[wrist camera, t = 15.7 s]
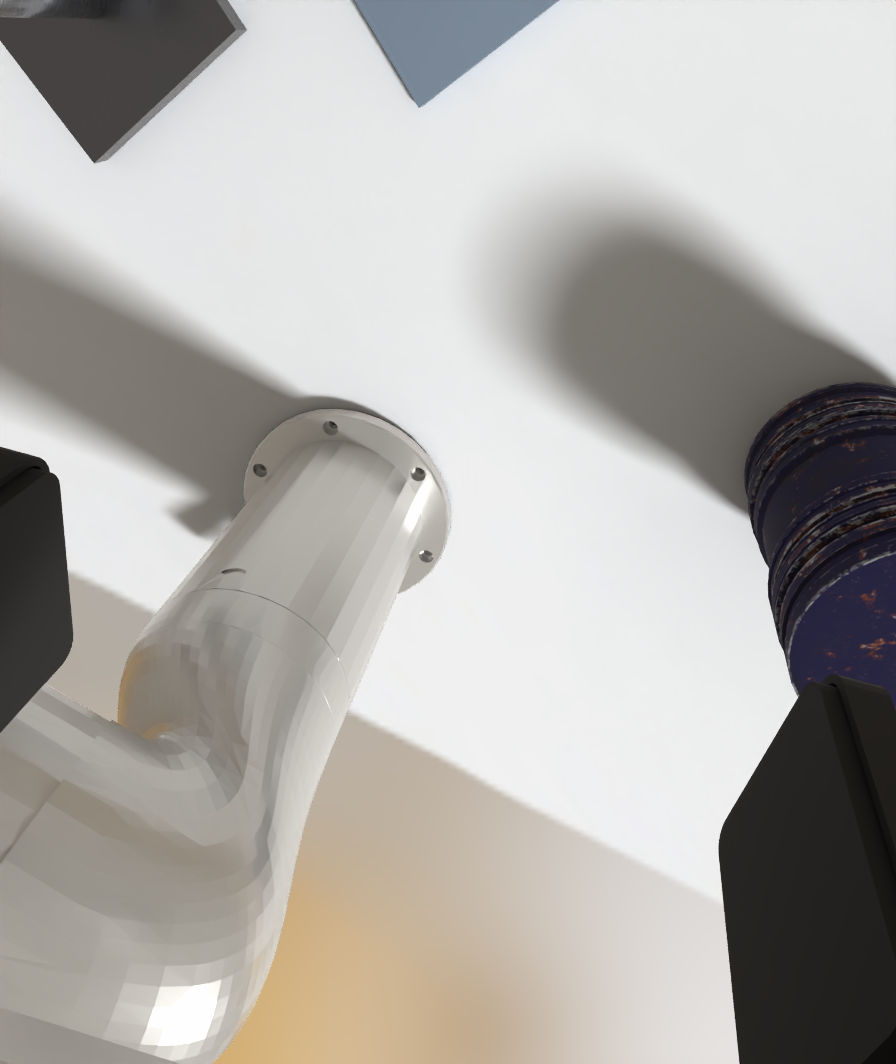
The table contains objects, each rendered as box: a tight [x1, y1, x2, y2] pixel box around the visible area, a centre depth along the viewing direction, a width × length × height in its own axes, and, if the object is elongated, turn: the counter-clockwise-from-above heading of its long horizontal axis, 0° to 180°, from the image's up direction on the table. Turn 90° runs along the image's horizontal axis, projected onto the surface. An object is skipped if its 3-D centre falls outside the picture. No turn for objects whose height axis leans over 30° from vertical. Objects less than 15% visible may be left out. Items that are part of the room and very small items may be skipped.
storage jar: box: [744, 383, 896, 710], centre depth 36 cm, size 10×10×15 cm
